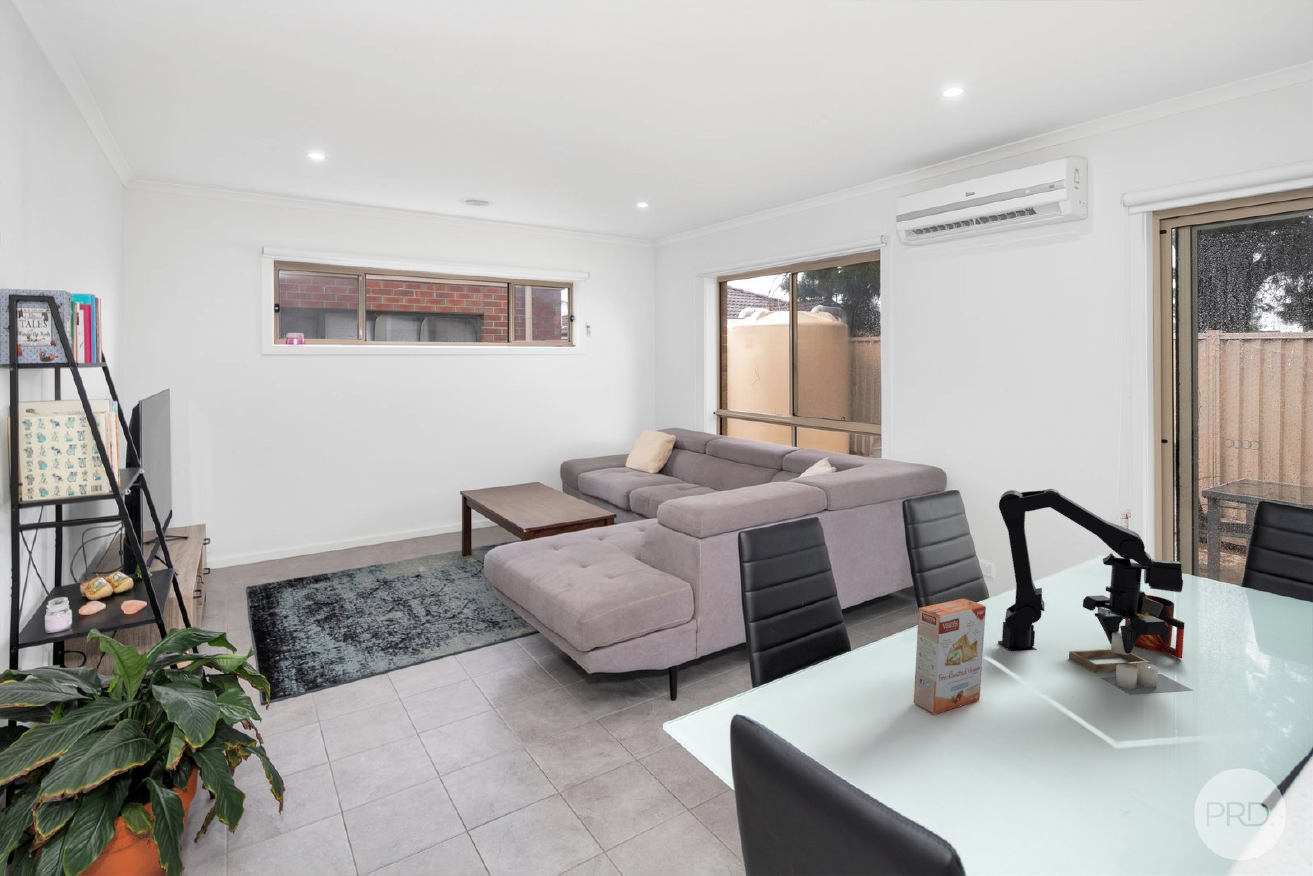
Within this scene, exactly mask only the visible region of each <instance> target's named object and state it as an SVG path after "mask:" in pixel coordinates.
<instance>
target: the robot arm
mask: <svg viewBox="0 0 1313 876" xmlns="http://www.w3.org/2000/svg"><path fill="white" fill-rule="evenodd" d="M998 508H999V511H1000V514H1001V517H1002V520H1003V521H1004V524H1005V526H1006V529H1007V533H1008V538H1009V540H1008V541H1009V546H1010V551H1011V552H1010V553H1011V558H1012V564H1013V571H1014V572H1013V573H1014V578H1015V584H1016V585H1015V586H1016V587H1015V601H1014V603H1013V604H1012V605H1011V606H1009V607H1007V608H1006V612H1005V618H1004V621H1002V639H1001V640H998V641H997V644H999V645H1000V646H1002V647H1004V648H1005V649H1007V650H1008V651H1010V652H1026V651H1037V650H1038V649H1037V648H1036V647H1034V646H1035V640H1036V639H1035V638H1036V637H1035V636H1036V634H1035V633H1036V630H1035V629H1034V628H1035V625H1034V624H1035V623H1037V622H1038V621H1040V619H1041V618H1042V612H1045V601H1044V599H1043V597H1042V596H1043V588H1042V587H1040V588H1037V587H1036V586H1035V583H1034V580H1033V575H1032V574H1033V573H1032V568H1031V567H1032V566H1031V561H1030V554H1029V549H1028V547H1029V546H1028V540H1027V536H1026V527H1025V524H1026V513H1027V512H1033V511H1037V510H1042V509H1047V508H1050V509H1052V510H1054V511H1056V512H1057V513H1059V514H1060V515H1062V516H1063V517H1065V518H1067V519H1069V520H1071V521H1072V522H1074V523H1076V524H1077V525H1079V526H1080V527H1082V528H1084V529H1085V530H1087V531H1089V532H1090V533H1092V534H1094V535H1095V536H1096V537H1098V538H1099V539H1100V540H1101V541H1102V542H1103V543H1105V545H1107V547H1108V548H1109V549H1111V550H1113V552H1114V553H1116V555H1118V556H1119V557H1116V556H1115V555H1114V554H1113V553H1109V554H1108V555H1107V556H1105V557H1104V558H1102V563H1103V564H1104V565H1105V566H1111V574H1110V586H1105V591H1106V592H1108V593H1109V597H1108V596H1106V595H1087V596H1086V597H1084V598H1083V600H1082V608H1084V609H1086V610H1088V611H1091V612H1093V611H1094V610H1096V609H1097V612H1095V613H1094V617H1096V618H1097V620H1098V622H1099V623H1100V625H1101V627H1102V630H1103V631H1104V634H1105V635H1106V638H1107V639H1108V642H1109V644H1110V645H1111V643H1112V633H1113V632H1121V634H1122V640H1123V646H1124V650H1125V653H1127V654H1128V653H1132V651H1133V649H1134V648H1135V644H1136V642H1137V641H1138V639H1139V638H1140V636H1141V635H1142V634H1143V635H1161V634H1167V633H1168V624H1167V623H1166V622H1165V621H1163V620H1160V619H1158V618H1156V617H1153V616H1142V617H1140V616H1137V615H1138V614H1146V612H1148V613H1151V614H1154V615H1155V616H1157V617H1159V614H1160V612H1161V609H1162V607H1163V604H1161V603H1158V602H1156V601H1153V600H1151V599H1148V598H1145V596H1146V595H1147V594H1146V592H1145V591H1143V590H1141V582H1142V571H1143V583H1144V584H1148V586H1149V589H1152V590H1158V591H1159V590H1161V591H1168V592H1175V593H1182V591H1183V586H1184V578H1183V570H1182V563H1181V562H1180V561H1176V560H1163V559H1162V560H1160V559H1152V557H1151V555H1150V554H1149V553H1147V551H1146V550H1145V548H1146V547H1145V543H1144V541H1143V539H1142V538H1141V536H1140V535H1139V533H1137V532H1135V531H1134V530H1131V529H1129V528H1127V527H1124V526H1122V525H1119V524H1116V523H1113V522H1110V521H1107V520H1105V519H1103V518H1101V517H1100V516H1099V515H1097V514H1095V513H1093V512H1092V511H1090V510H1088V509H1086V508H1085V507H1083V506H1082V505H1079V504H1078V503H1077V502H1075V501H1073V500H1072V499H1070V498H1068V497H1066V496H1065V495H1063V494H1061V493H1060V492H1059V491H1058V489H1055V488H1048V489H1043V490H1031V491H1029V490H1028V491H1022V492H1020V491H1018V490H1014V489H1013V490H1007V491H1005V492H1004V493H1002V495H1001V496H1000V498H999V502H998ZM1132 560H1133V561H1134V562H1132ZM1125 619H1126V620H1128V621H1129V623H1128V625H1126V626H1125V625H1121V623H1122V622H1123V620H1125Z"/></svg>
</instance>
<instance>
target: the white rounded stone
mask: <svg viewBox="0 0 1313 876" xmlns="http://www.w3.org/2000/svg"><path fill="white" fill-rule="evenodd" d="M1137 672H1138V669H1137V668H1135V667H1133V666H1130V665H1126V664H1118V665H1117V666H1116V672H1115V677H1116V680H1115V684H1116V685H1117V686H1119V687H1122V688H1125V689H1136V685H1137Z"/></svg>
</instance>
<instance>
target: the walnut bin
mask: <svg viewBox="0 0 1313 876" xmlns="http://www.w3.org/2000/svg"><path fill="white" fill-rule="evenodd" d="M1115 657H1122V658H1124V659H1126V660H1128V661H1127V662H1126V661H1125V662H1124V661H1123V662H1111V663H1097V664H1095V663H1094V662H1092V661H1090V660H1089V659H1096V658H1097V659H1099V658H1115ZM1068 659H1070V660H1071V661H1073V662H1075V663H1076V664H1078V665H1079V666H1081V667H1083V668H1085V669H1087V670H1089V671H1090V672H1092V673H1094V674H1098V673H1114V672H1115V673H1116V666H1117V665H1118V664H1126V665H1130V666H1133V667H1135V668H1137V663H1148V664H1151V661H1148V660H1147V659H1144V658H1143V657H1140V656H1138V655H1136V653H1134V652H1133V653H1132V652H1131V653H1130V654H1128V655H1124V654H1118V653H1115V652H1113V651H1112V650H1111V648H1105V649H1104V648H1102V649H1085V650H1070V651H1068Z"/></svg>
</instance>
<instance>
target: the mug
mask: <svg viewBox="0 0 1313 876" xmlns="http://www.w3.org/2000/svg"><path fill="white" fill-rule="evenodd" d="M1145 598H1148V599H1151V600H1153V601H1156V602H1158V603H1161V604H1163V607H1162V609H1161V612H1160V614H1159V617H1157V616H1155V615H1154V614H1151V613H1148V612H1146V614H1138V615H1137V616H1140V617H1142V616H1153V617H1156V618H1158V619H1160V620H1163V621H1165V622H1166V623H1167V624H1168V633H1167V634H1161V635H1143V634H1142V635H1141V636H1140V638H1139V639H1138V641H1137V642H1136V644H1135V646H1134V648H1139V649H1142V650H1143V649H1144V650H1148V651H1153V652H1164V653H1167V654H1168V655H1171V656H1173V657H1175V659H1176V658H1177V659H1183V653H1184V652H1183V651H1184V635H1185V634H1184V633H1185V622H1184V621H1181V620H1180V619H1177V618H1175V617H1174V613H1175V602H1173V601H1172V600H1169V599H1168V598H1164V597H1162V596H1161V597H1160V596H1156V595H1151V594H1146V596H1145ZM1124 620H1125V622H1124V626H1126V625H1128V623H1129V621H1128V620H1126V619H1124ZM1173 627H1175V628H1176V636H1175V647H1173V646H1172V641H1173V640H1172V639H1173V638H1172V637H1173Z"/></svg>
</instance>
